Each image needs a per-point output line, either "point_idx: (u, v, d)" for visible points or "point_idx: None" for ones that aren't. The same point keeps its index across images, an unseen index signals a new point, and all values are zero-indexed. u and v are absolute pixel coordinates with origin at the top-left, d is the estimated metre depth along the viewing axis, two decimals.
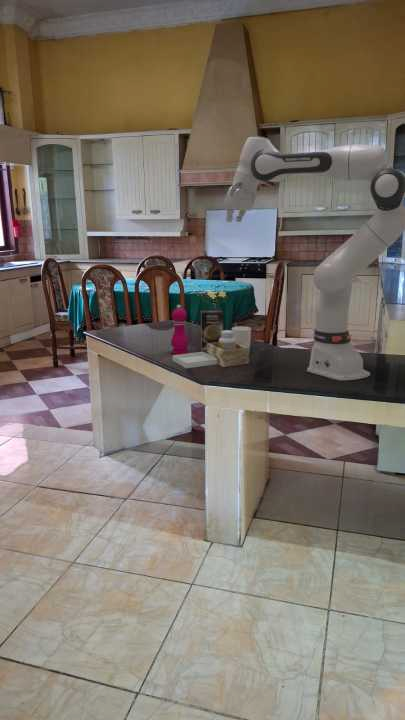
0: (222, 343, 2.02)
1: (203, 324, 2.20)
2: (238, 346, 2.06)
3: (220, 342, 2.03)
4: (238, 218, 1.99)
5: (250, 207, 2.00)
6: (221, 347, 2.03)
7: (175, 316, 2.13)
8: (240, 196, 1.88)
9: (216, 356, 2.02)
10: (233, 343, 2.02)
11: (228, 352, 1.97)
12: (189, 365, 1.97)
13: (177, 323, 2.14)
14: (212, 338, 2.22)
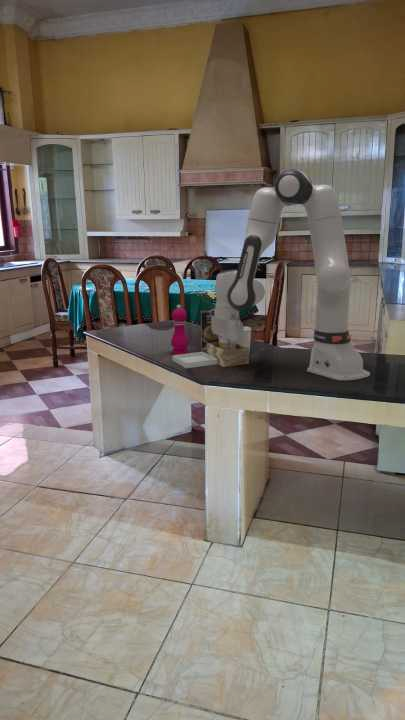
0: (222, 343, 2.02)
1: (203, 324, 2.20)
2: (238, 346, 2.06)
3: (220, 342, 2.03)
4: None
5: None
6: (221, 347, 2.03)
7: (175, 316, 2.13)
8: None
9: (216, 356, 2.02)
10: None
11: (228, 352, 1.97)
12: (189, 365, 1.97)
13: (177, 323, 2.14)
14: (212, 338, 2.22)
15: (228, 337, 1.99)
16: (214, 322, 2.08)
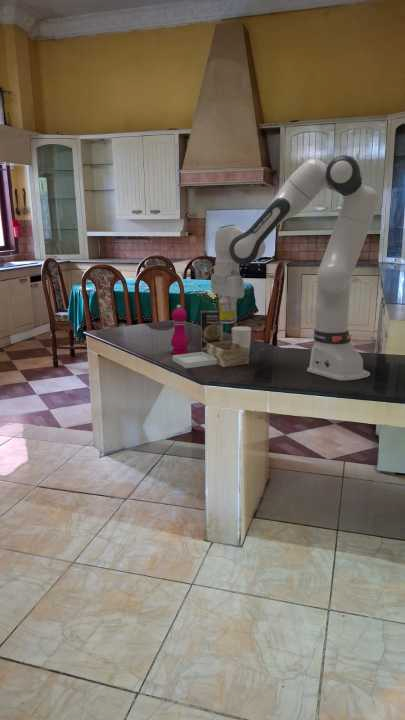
0: (222, 304, 1.98)
1: (203, 324, 2.20)
2: (238, 346, 2.06)
3: (220, 302, 1.99)
4: None
5: None
6: (221, 307, 1.99)
7: (175, 316, 2.13)
8: None
9: (216, 356, 2.02)
10: None
11: (228, 352, 1.97)
12: (189, 365, 1.97)
13: (177, 323, 2.14)
14: (212, 338, 2.22)
15: (228, 294, 1.95)
16: (214, 281, 2.04)
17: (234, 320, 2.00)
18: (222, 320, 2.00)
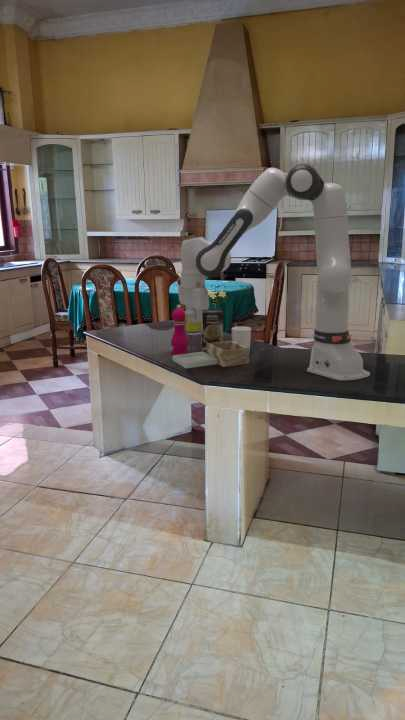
0: (187, 315, 1.98)
1: (203, 324, 2.20)
2: (238, 346, 2.06)
3: (186, 314, 1.98)
4: None
5: None
6: (187, 319, 1.98)
7: (175, 316, 2.13)
8: None
9: (216, 356, 2.02)
10: None
11: (228, 352, 1.97)
12: (189, 365, 1.97)
13: (177, 323, 2.14)
14: (212, 338, 2.22)
15: (194, 305, 1.95)
16: (181, 291, 2.04)
17: (200, 331, 1.99)
18: (188, 331, 1.99)
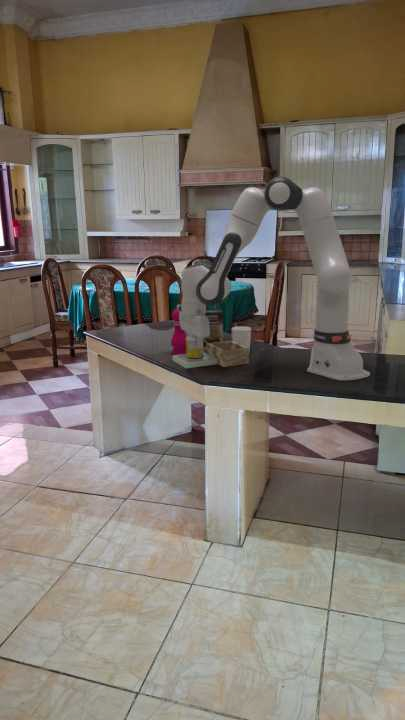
0: (188, 341, 2.00)
1: None
2: (238, 346, 2.06)
3: (187, 340, 2.01)
4: None
5: None
6: (188, 345, 2.01)
7: (175, 316, 2.13)
8: None
9: (216, 356, 2.02)
10: None
11: (228, 352, 1.97)
12: (189, 365, 1.97)
13: (177, 323, 2.14)
14: (212, 338, 2.22)
15: (194, 333, 1.97)
16: (182, 317, 2.07)
17: (201, 357, 2.02)
18: (189, 357, 2.02)
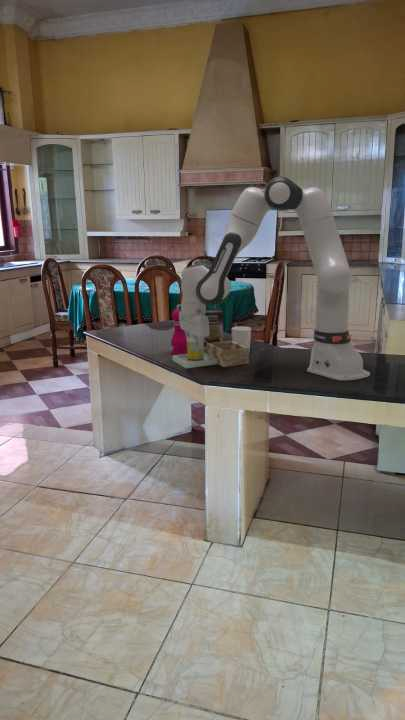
0: (189, 343, 2.00)
1: None
2: (238, 346, 2.06)
3: (188, 341, 2.00)
4: None
5: None
6: (189, 346, 2.00)
7: (175, 316, 2.13)
8: None
9: (216, 356, 2.02)
10: None
11: (228, 352, 1.97)
12: (189, 365, 1.97)
13: (177, 323, 2.14)
14: (212, 338, 2.22)
15: (194, 332, 1.97)
16: (181, 317, 2.07)
17: (201, 359, 2.02)
18: (189, 359, 2.01)
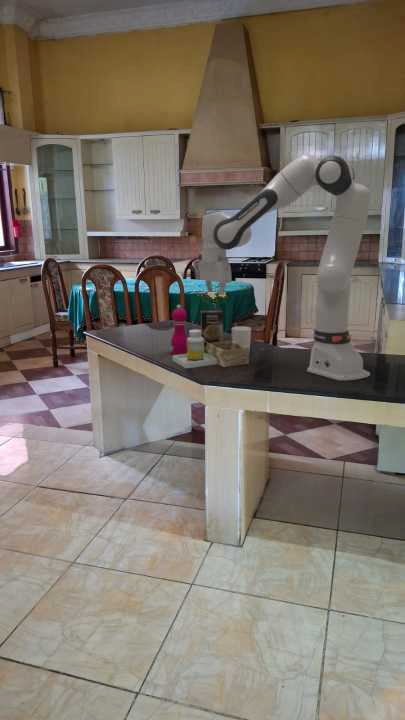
0: (189, 343, 2.00)
1: (203, 324, 2.20)
2: (238, 346, 2.06)
3: (188, 341, 2.00)
4: (210, 289, 2.07)
5: None
6: (189, 346, 2.00)
7: (175, 316, 2.13)
8: None
9: (216, 356, 2.02)
10: (201, 342, 2.00)
11: (228, 352, 1.97)
12: (189, 365, 1.97)
13: (177, 323, 2.14)
14: (212, 338, 2.22)
15: (216, 279, 1.98)
16: (201, 267, 2.08)
17: (201, 359, 2.02)
18: (189, 359, 2.01)
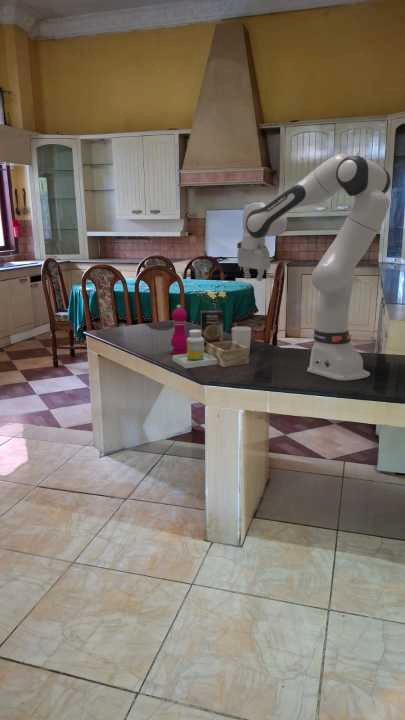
0: (189, 343, 2.00)
1: (203, 324, 2.20)
2: (238, 346, 2.06)
3: (188, 341, 2.00)
4: (248, 276, 2.19)
5: None
6: (189, 346, 2.00)
7: (175, 316, 2.13)
8: None
9: (216, 356, 2.02)
10: (201, 342, 2.00)
11: (228, 352, 1.97)
12: (189, 365, 1.97)
13: (177, 323, 2.14)
14: (212, 338, 2.22)
15: (255, 266, 2.09)
16: (240, 255, 2.19)
17: (201, 359, 2.02)
18: (189, 359, 2.01)
